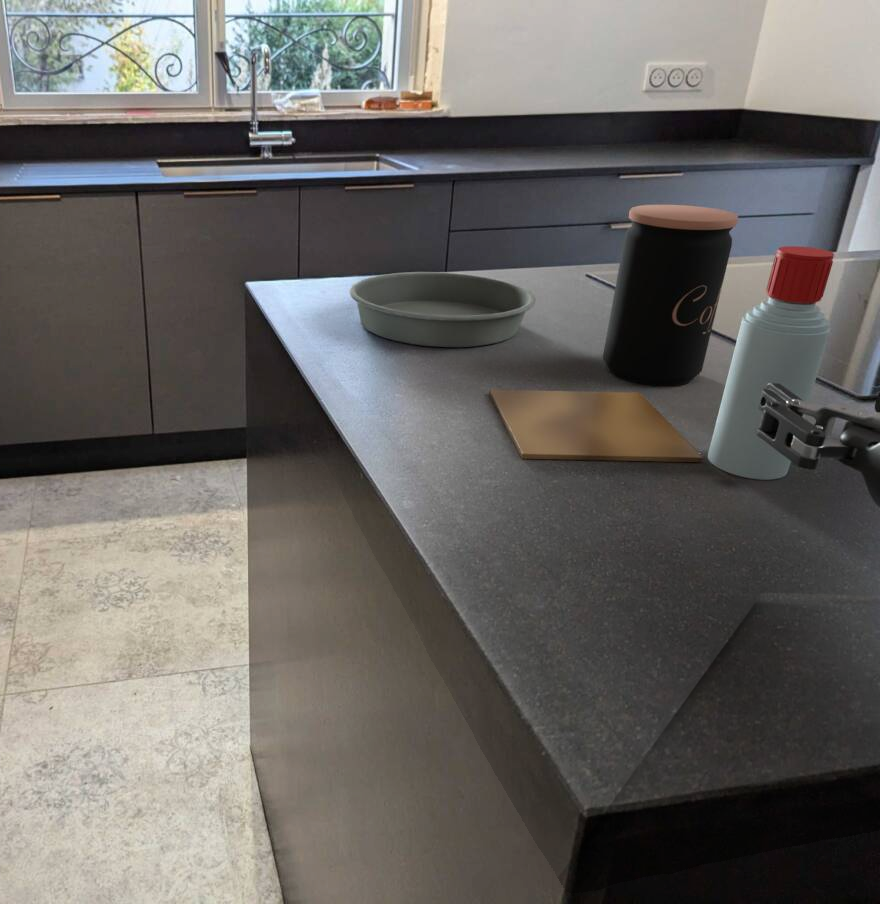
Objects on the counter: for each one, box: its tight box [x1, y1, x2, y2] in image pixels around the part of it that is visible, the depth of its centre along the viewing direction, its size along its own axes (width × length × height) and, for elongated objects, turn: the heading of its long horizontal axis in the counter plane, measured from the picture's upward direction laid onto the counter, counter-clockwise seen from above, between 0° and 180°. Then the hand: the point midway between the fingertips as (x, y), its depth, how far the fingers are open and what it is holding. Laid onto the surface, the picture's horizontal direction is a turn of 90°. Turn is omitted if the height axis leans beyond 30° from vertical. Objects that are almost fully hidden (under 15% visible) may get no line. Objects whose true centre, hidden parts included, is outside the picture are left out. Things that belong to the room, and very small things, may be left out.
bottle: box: [707, 296, 832, 481], centre depth 70 cm, size 6×6×18 cm
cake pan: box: [348, 271, 537, 348], centre depth 111 cm, size 25×25×4 cm
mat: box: [488, 389, 703, 463], centre depth 81 cm, size 16×16×1 cm
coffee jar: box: [602, 204, 739, 387], centre depth 91 cm, size 11×11×18 cm
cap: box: [765, 245, 835, 303], centre depth 66 cm, size 4×4×4 cm
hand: (824, 395), depth 63 cm, fingers open, 8 cm apart
